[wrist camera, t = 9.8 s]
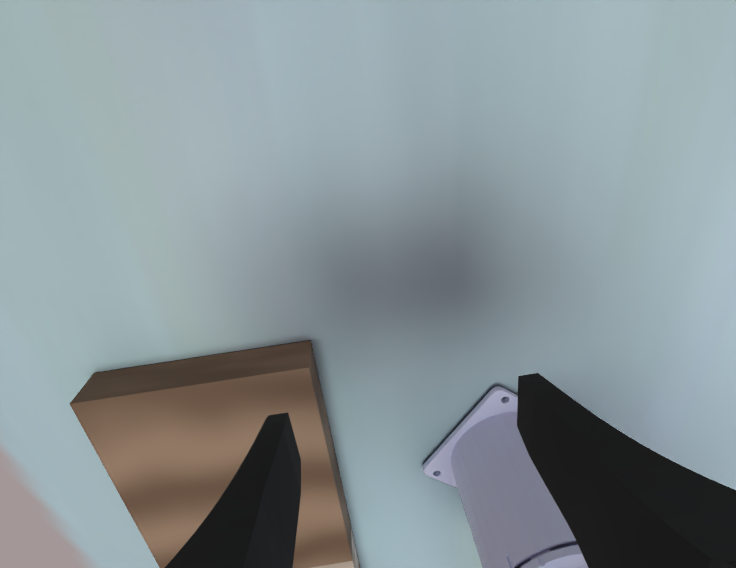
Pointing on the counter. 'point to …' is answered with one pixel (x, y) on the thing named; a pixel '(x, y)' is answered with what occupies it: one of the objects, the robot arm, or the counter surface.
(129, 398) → the socket board
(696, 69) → the counter surface
